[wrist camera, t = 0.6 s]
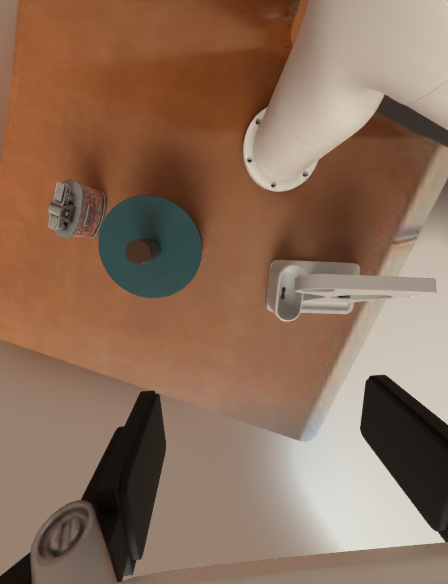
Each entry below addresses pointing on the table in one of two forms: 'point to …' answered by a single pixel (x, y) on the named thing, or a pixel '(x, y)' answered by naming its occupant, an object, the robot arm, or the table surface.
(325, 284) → the phone holder
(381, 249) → the table surface
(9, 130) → the table surface
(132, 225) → the tin lid
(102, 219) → the lighter
